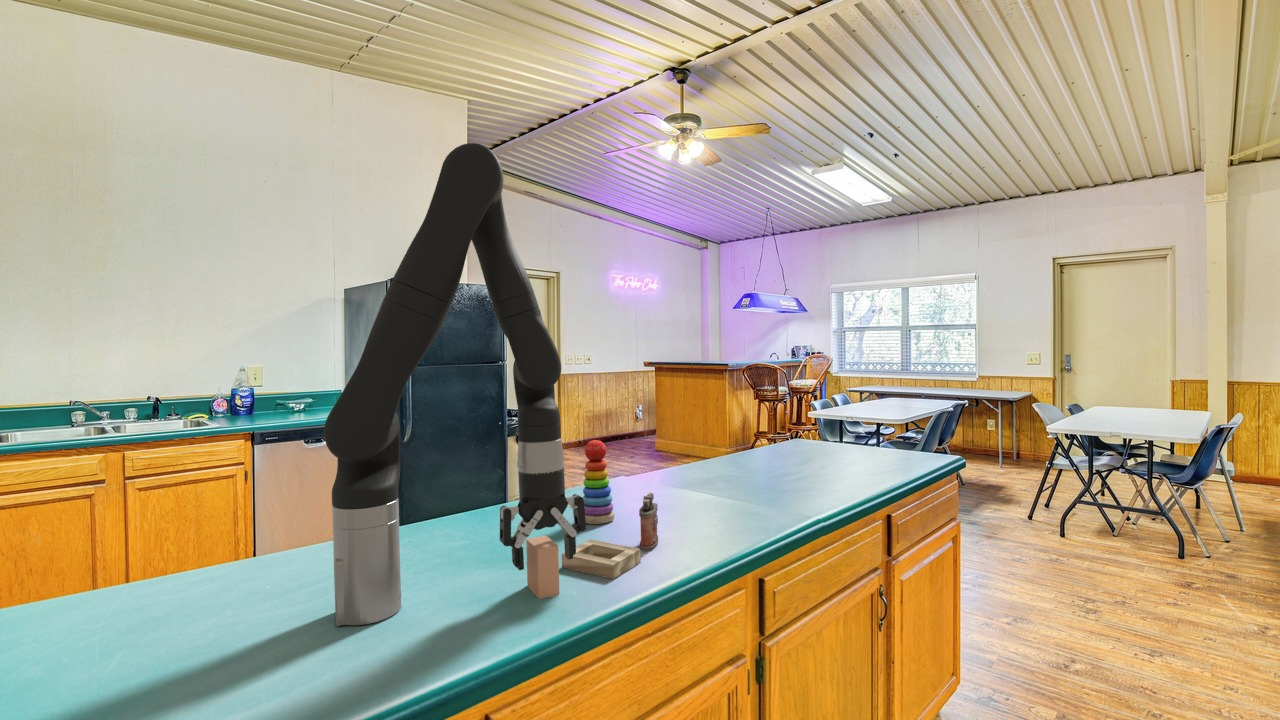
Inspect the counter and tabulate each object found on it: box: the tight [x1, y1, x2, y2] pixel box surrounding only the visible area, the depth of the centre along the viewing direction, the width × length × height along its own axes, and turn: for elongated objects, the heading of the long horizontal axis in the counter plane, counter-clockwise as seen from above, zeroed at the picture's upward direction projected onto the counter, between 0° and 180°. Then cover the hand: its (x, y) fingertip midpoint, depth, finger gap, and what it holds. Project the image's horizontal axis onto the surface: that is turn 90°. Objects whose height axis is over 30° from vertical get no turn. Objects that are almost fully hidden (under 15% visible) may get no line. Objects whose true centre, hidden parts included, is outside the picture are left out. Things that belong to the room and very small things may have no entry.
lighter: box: [638, 492, 659, 552], centre depth 117 cm, size 8×3×10 cm, turn 168°
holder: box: [561, 539, 642, 580], centre depth 107 cm, size 9×12×2 cm
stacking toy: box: [582, 439, 615, 525], centre depth 135 cm, size 8×8×19 cm
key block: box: [525, 535, 560, 600], centre depth 96 cm, size 4×6×8 cm, turn 29°
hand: (545, 563), depth 96 cm, fingers open, 8 cm apart
